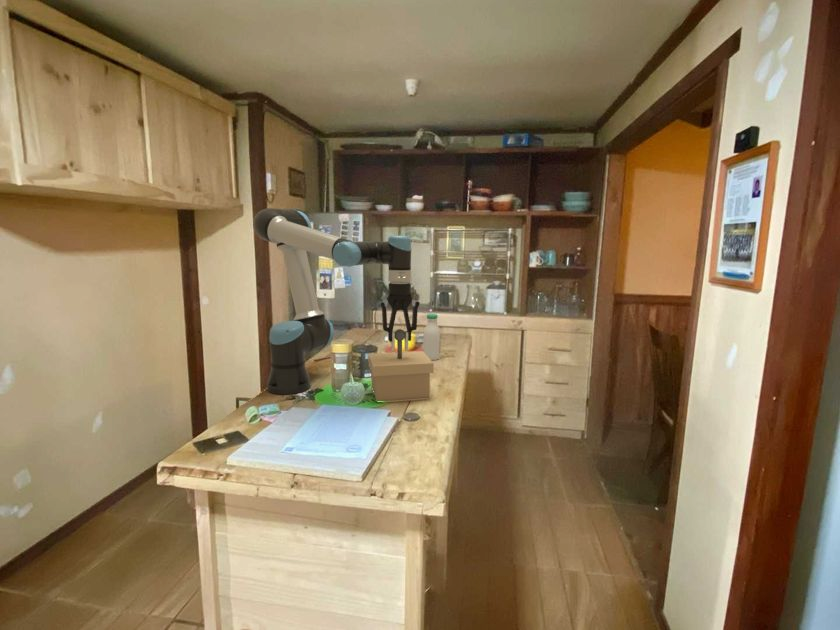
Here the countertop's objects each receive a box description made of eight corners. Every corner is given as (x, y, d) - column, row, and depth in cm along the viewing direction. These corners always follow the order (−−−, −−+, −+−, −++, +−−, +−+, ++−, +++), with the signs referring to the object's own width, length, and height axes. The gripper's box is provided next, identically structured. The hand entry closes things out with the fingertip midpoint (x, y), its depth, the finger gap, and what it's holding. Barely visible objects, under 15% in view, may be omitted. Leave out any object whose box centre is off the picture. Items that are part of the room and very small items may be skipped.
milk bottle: (438, 361, 196) (439, 316, 192) (421, 359, 197) (421, 315, 194) (441, 356, 203) (442, 313, 200) (424, 355, 205) (425, 312, 201)
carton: (376, 402, 147) (376, 367, 144) (371, 388, 160) (371, 356, 158) (429, 399, 150) (429, 364, 148) (420, 385, 164) (420, 353, 162)
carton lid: (373, 376, 144) (373, 335, 141) (368, 362, 159) (367, 325, 157) (433, 372, 148) (434, 333, 146) (422, 359, 163) (423, 323, 161)
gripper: (375, 284, 143) (376, 354, 147) (427, 283, 147) (426, 352, 151) (373, 281, 150) (373, 348, 154) (422, 281, 154) (421, 346, 158)
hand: (399, 350), depth 152 cm, fingers closed on carton lid, 4 cm apart
